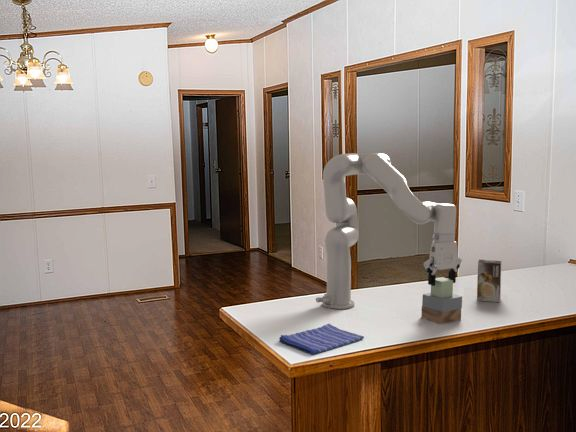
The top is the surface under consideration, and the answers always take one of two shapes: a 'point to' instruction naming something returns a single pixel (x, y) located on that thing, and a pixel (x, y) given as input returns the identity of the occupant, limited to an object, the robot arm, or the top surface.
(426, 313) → the walnut block
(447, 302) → the grey square block
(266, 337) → the top surface
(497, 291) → the coffee box
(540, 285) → the top surface
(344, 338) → the dish towel
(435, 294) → the sage block
